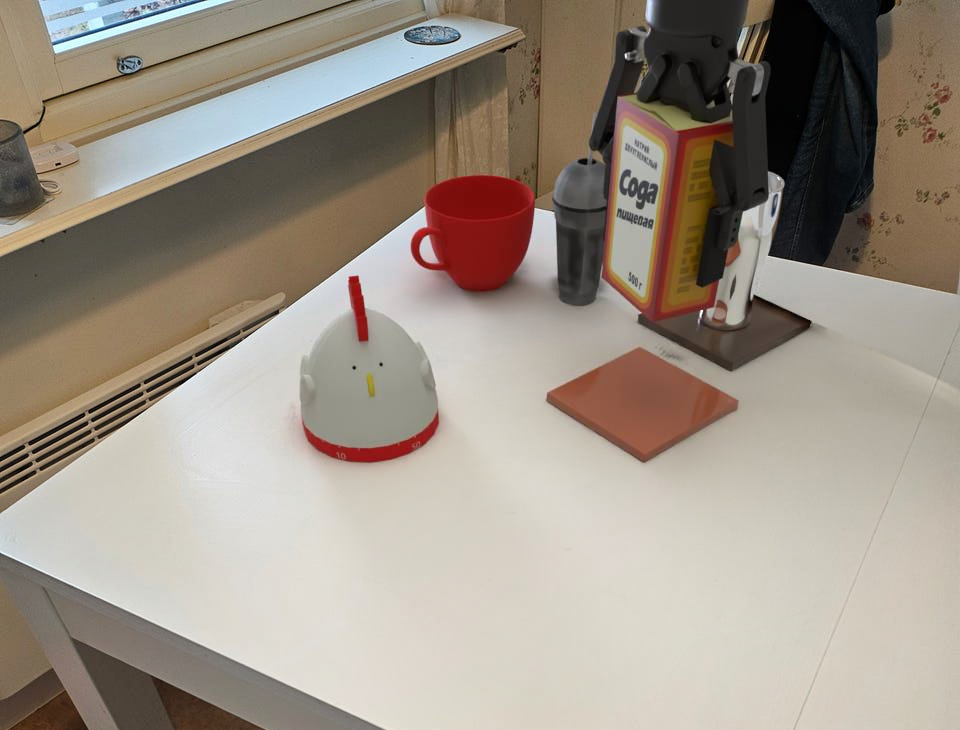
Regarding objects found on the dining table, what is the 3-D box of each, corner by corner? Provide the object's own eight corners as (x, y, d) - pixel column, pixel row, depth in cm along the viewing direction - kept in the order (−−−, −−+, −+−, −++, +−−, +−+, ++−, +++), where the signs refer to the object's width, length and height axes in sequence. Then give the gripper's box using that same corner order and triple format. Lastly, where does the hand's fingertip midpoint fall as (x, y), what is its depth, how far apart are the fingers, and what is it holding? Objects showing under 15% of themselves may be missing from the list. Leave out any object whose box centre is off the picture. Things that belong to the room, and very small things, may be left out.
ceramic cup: (383, 289, 111) (375, 206, 103) (483, 246, 118) (482, 165, 111) (452, 328, 104) (449, 242, 97) (554, 279, 112) (558, 196, 105)
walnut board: (810, 328, 103) (812, 320, 103) (731, 371, 98) (732, 363, 97) (716, 284, 111) (717, 276, 110) (637, 322, 105) (638, 314, 104)
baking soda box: (601, 277, 86) (618, 90, 75) (659, 264, 88) (685, 79, 76) (652, 322, 81) (679, 127, 69) (713, 307, 82) (750, 114, 70)
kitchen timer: (309, 470, 87) (281, 327, 76) (298, 392, 96) (272, 254, 85) (450, 451, 89) (443, 307, 77) (427, 376, 98) (418, 238, 86)
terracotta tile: (737, 408, 93) (739, 400, 92) (643, 462, 87) (645, 454, 86) (638, 354, 100) (639, 346, 99) (545, 400, 94) (546, 392, 94)
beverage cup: (535, 300, 109) (542, 118, 94) (567, 276, 112) (578, 98, 98) (588, 317, 106) (603, 132, 91) (618, 292, 110) (637, 111, 95)
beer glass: (695, 299, 106) (718, 165, 95) (755, 305, 105) (786, 169, 94) (692, 329, 102) (716, 191, 90) (755, 335, 101) (787, 196, 89)
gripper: (556, -56, 70) (544, 228, 87) (801, 3, 58) (734, 321, 74) (624, -70, 73) (600, 207, 90) (869, -17, 61) (790, 292, 78)
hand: (660, 259), depth 82 cm, fingers closed on baking soda box, 11 cm apart
